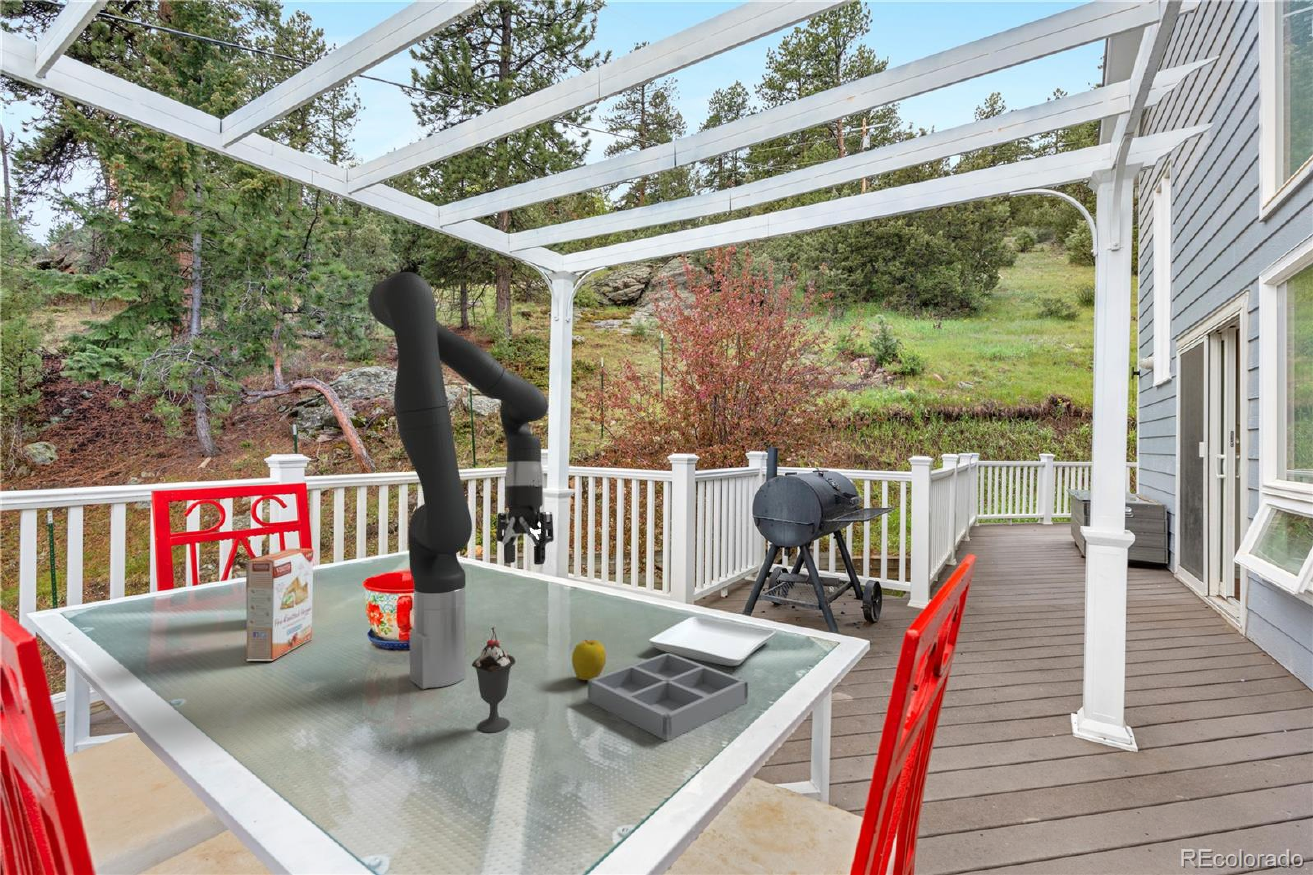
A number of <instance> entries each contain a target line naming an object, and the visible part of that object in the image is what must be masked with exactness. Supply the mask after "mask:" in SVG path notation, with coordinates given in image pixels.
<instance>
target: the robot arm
mask: <svg viewBox="0 0 1313 875" xmlns="http://www.w3.org/2000/svg"><path fill="white" fill-rule="evenodd" d="M367 298H368V300H367V302H368V307H369V308H368V309H369V311H370V313H371V314H372V316H373V317H374V318H375V319H376V321H377V322H378V323H380V324H381V325H383V326H384V327H386V328H388V329H389V330H391V331H392V332H393V333H394V338H395V343H396V349H397V369H396V377H395V384H394V393H393V394H394V397H393V404H394V412H395V419H396V423H397V429H398V434H399V438H400V441H401V444H402V447H403V449H404V451H405V453H406V455H407V457H408V459H409V461H410V462H411V465H412V466H413V468H414V471H415V472H416V475H417V477H418V479H419V482H420V485H421V490H422V496H423V502H424V503H423V504H421V505H420V506H419V507H418V508H416V509H415V511H414V512H413V513H412V515H411V518H410V520H409V525H408V526H409V527H408V559H409V571H410V574H411V578H412V580H413V628H411V629H410V630H409V681H411V682H412V683H414V684H415V685H416V686H418V687H419V688H420V689H422V690H425V689H428V688H429V689H430V688H440V687H446V686H451V685H454V684H456V683H459V682H461V681H462V680H463V679H464V678H465V677H466V675H467V674H466V668H467V667H466V666H467V663H466V662H467V661H466V659H467V658H466V650H467V648H466V573H465V570H464V569H463V567H462V566H461V564H460V563H459V560H458V555H457V554H458V553H459V552H462V551H463V549H465V548H466V546H467V545H468V544H469V542H470V541H471V536H472V533H473V522H472V521H473V520H472V517H471V516H472V515H471V512H470V508H469V506H468V501H467V498H466V494H465V491H464V487H463V484H462V480H461V476H460V470H459V464H458V457H457V450H456V445H455V439H454V434H453V425H452V419H451V413H450V412H451V411H450V407H449V401H448V398H447V392H446V386H445V381H444V373H443V369H442V364H444V365H446V366H447V367H448V368H449V369H451V370H452V371H454V372H455V373H456V374H458V375H459V377H461V378H462V379H463V380H465V381H466V382H467V383H468V384H470V385H471V386H472V387H473V388H474V389H476V390H477V391H478V392H479V393H481V394H482V395H483V396H484V397H486V398H489V399H491V400H498V401H499V400H500V401H501V403H500V406H499V407H500V408H499V416H500V420H501V421H500V422H501V425H502V430H503V433H504V434H503V435H504V437H505V441H506V470H505V507H506V508H508V512H498V513H497V515H496V516H497V518H496V519H497V521H496V523H497V524H496V541H497V542H500V543H502V544H503V559H504V562H505V563H506V564H513V563H515V562H516V544H515V542H517V540H518V537H520V536H521V535H522V534H523V535H527V536H528V537H529V538H531V540H532V542H533V544H534V546H533V564H534V565H537V566H538V565H544V564H545V561H546V545H547V544H548V543H551V542H554V538H555V537H554V521H553V520H554V519H553V513H552V512H551V511H542V512H541V507H542V506H543V504H544V503H543V502H544V501H543V497H544V493H543V491H544V490H543V486H544V485H543V483H544V482H543V466H542V443H541V442H542V440H541V438H540V437H539V436H538V435H536V434H533V433H532V431H531V428H530V423H532V422H537V421H540V420H542V419H543V418H544V417H545V416H546V415H547V413H548V409H549V404H548V403H549V402H548V399H547V398H546V395H545V394H544V392H543V391H542V390H541V389H540V388H538V386H536V385H535V384H534V383H532V382H530V381H527V380H526V379H525V378H523V377H520V376H519V375H517V374H515V373H513V372H511V371H509V370H508V369H507V368H506V367H505V366H504V365H503V364H502V363H500V362H499V361H498V360H497V359H496V358H495V357H493V356H492V355H491V354H490V353H489V352H487V351H486V350H485V349H484V348H482V347H480V346H479V345H477V344H476V343H473V342H472V341H470V340H468V339H467V338H464V337H463V336H461V335H459V334H457V333H456V332H454V331H453V330H450V329H449V328H447V326H444V325H443V324H441V323H440V321H438V319H437V307H436V299H435V296H434V292H433V291H432V288H431V287H430V285H429V284H428V282H427V281H426V280H425V279H424V278H423V277H421V275H419V274H417V273H414V272H412V271H411V272H410V271H403V272H398V273H396V274H394V275H391V276H390V277H387V278H385V279H383V280H381V281H379V282H377V283H376V284H375V285H374V286H372V288H371V290H370V291H369V292H368V296H367Z"/></svg>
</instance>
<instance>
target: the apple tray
mask: <svg viewBox="0 0 1313 875" xmlns="http://www.w3.org/2000/svg"><path fill="white" fill-rule="evenodd" d="M748 683H749V681H747V680H746V679H743V678H739V677H736V676H734V675H731V674H728V673H725V672H724V671H720V670H718V669H715V668H712V667H709V666H706V665H703V664H700V663H698V662H695V661H693V660H690V659H687V658H685V657H682V656H677V655H673V654H671V653H669V652H665V653H663V654H660V655H657V656H654V657H651V658H648V659H646V660H642V661H639V662H637V663H634V664H631V665H628V666H625V667H622V668H619V669H616V670H613V671H610V672H608V673H607V672H606V673H604V674H602V675H601V674H600V675H599V676H598V677H596V678H593V679H590V680H587V701H588V702H589V703H592V704H593V705H595V706H597V707H600V708H601V709H603V710H605V711H606V712H609V713H611V714H613V715H615V716H617V717H619V718H620V719H623V720H625V722H626V721H627V722H629V723H630V724H633V725H634V726H636V727H638V728H640V729H642V730H644V731H646V732H648V733H650V734H652V735H654V736H656V737H658V738H660V739H662V740H664V741H665V742H669V741H671V740H673V739H675V738H678V737H680V736H681V735H683V734H685V733H688V732H689V731H691V730H694V729H696V728H698V727H700V726H702V725H704V724H705V723H708V722H710V721H712V720H714V719H716V718H719V717H720V716H723V715H724V714H726V713H729V712H731V711H733V710H735V709H737V708H739V707H741V706H743V705H745V704H748V702H749V701H748V700H749V693H748V692H749V691H748Z"/></svg>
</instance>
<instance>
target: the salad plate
mask: <svg viewBox="0 0 1313 875" xmlns="http://www.w3.org/2000/svg"><path fill="white" fill-rule="evenodd" d="M775 634H776V631H775V630H774V629H769V628H764V627H763V628H762V627H758V626H752V625H747V624H744V623H743V624H741V623H738V622H737V623H736V622H732V621H726V620H725V621H724V620H719V619H713V618H708V617H707V618H706V617H702V616H701V617H700V616H690V617H689V618H686V619H684V620H682V621H681V622H679V623H677V624H675V625H673V626H672V627H669V628H667V629H665V630H663V631H661V632H660V633H657V635H655V636H653V637H651V638H649V639H648V641H649V643H650V644H651V645H652V646H653V647H655V648H656V649H658V650H659V651H662V652H665V653H671V654H673V655H676V656H679V657H682V658H685V659H687V658H688V659H692V660H697V661H701V662H706V663H710V664H711V663H712V664H716V665H722V666H726V667H737V666H739V665H741V664H742V663H743V662H744V661H745V660H746V659H747V658H748V657H749V656H751V654H753V653H754V652H755V651H756V650H757V649H759V648H760V647H762V646H763V645H764V644H767V643H768V642H769V641H770V640H771V639H772V638H773V637H774V636H775Z"/></svg>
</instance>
